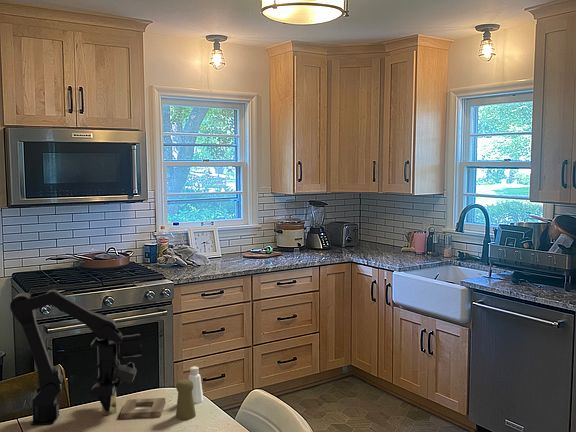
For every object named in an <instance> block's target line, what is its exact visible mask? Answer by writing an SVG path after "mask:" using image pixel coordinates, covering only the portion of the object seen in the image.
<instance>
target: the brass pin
mask: <svg viewBox="0 0 576 432" xmlns="http://www.w3.org/2000/svg"><path fill="white" fill-rule="evenodd" d="M117 404H118V403H117V390H116V391H115V393H114V394H113V395H112V397H111V404H110V411H108V412H106V411H105V409H104V408H103V406H102V405H101V413H102V415H103V414H104V415H105V416H110V415H109V414H112V415H114V414H113V413H115V412H116V413H117V412H118V410H117V409H118V407H117V406H118V405H117ZM116 413H115V414H116Z"/></svg>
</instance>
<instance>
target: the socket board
mask: <svg viewBox="0 0 576 432" xmlns="http://www.w3.org/2000/svg"><path fill="white" fill-rule="evenodd" d="M165 405H166V397H156V398H152V397H151V398H137V399H135V398H134V399H127V400H126V401H125V404H124V405H123V407H122V409H121V412H120V419H121V418H122V419H136V418H135V417H142V418H157V417H159V418H160V416H161V417H162V415H163V411H164V409H163V408H165Z"/></svg>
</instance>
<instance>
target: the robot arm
mask: <svg viewBox="0 0 576 432" xmlns="http://www.w3.org/2000/svg"><path fill="white" fill-rule="evenodd" d="M49 306H53V307H55V308H56V309H58V310H60V311H61V312H63V313H65V314H66V315H68V316H70V317H72V318H74V319H75V320H78V321H79V322H81V323H82V324H84V325H85V326H87V328H89V329H90V331H91V332H93V333H94V335H96V337H95V338H94V339H93V340H92V342H91V343H90V347H91V348H97V349H96V350H97V363H96V365H95V366H96V367H95V368H96V369H97V374H98V376H97V377H96V383H95V384H94V385H93V387H92V388H91V390H90V397H92V398H97V399H98V400H99V402H100V404H101V407H102V406H103V408H104V409H105V411H106V412H108V411H110V404H111V397H112V395H113V394H114V393H115V391H116V392H117V387H118V386H119V385H121V383H122V382H127V383H128V384H133V381H134V379H135V378H136V377H135V376H136V374H137V371H138V370H137V367H135V362H131V361H129V362H128V363H127V364H123V365H122V364H121V362H120V359H119V358H118V354H119V356H120V355H121V357H122V359H123V358H132V357H141V356H142V355H143V354H142V353H143V352H142V350H143V349H142V342H141V334H140V333H135V334H128V335H127V334H126V335H123V333H122V331H120V330H119V329H118V327H117V324H116V321H115V319H113V318H112V317H110V316H106V315H104V314H102V313H97V312H94V311H91V310H89V309H88V308H86V307H84V306H83V305H81V304H80V303H77V302H76V301H74V300H72V299H71V298H70V297H68V296H66V295H64V294H62V293H60V291H59V290H58V289H50V290H47V291H46V290H45V291H37V292H34V293H28V292H20V293H19V292H18V294H16V295H15V296H14V297H13V299H12V300H11V302H10V304H9V309H10V312H11V313H12V314H13V315H12V316H14V318H15V320H16V321H17V322H18V324H19V325H20V326H21V327H22V330H23V333H24V336H25V339H26V341H27V345H28V346H29V349H30V353H31V355H32V358H33V360H34V364H35V367H36V369H37V382H38V387H37V388H36V389H35V391H34V394H33V398H32V401H31V402H32V404H31V407H32V409H31V410H32V420H31V422H30V425H31V426H36V425H37V426H39V425H40V426H41V425H53V424H55V422H56V421H57V419H58V418H59V416H60V403H59V402H58V398H57V396H58V395H59V393H60V392H61V389H62V384H63V380H64V375H63V374H62V372H61V367H60V365H57V366H54V364H53V363H52V361H51V359H50V356H49V353H48V350H47V347H46V345H45V342H44V338H43V337H42V336H43V335H42V332H41V331H40V328H39V325H38V322H37V314H36V310H39V309H40V308H44V307H49ZM117 347H118V348H117Z"/></svg>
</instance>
